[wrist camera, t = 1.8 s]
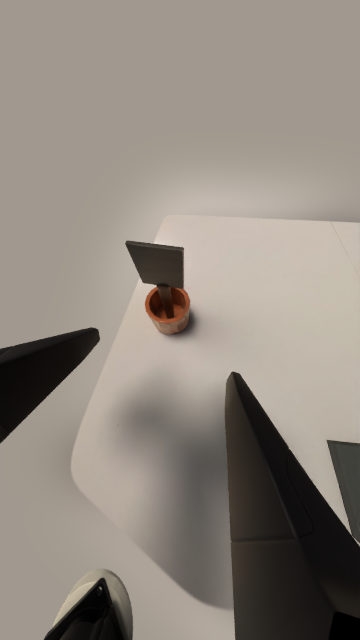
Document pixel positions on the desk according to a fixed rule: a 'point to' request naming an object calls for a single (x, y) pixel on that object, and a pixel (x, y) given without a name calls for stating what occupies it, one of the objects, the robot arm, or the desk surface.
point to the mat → (348, 479)
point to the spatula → (159, 269)
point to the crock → (158, 313)
